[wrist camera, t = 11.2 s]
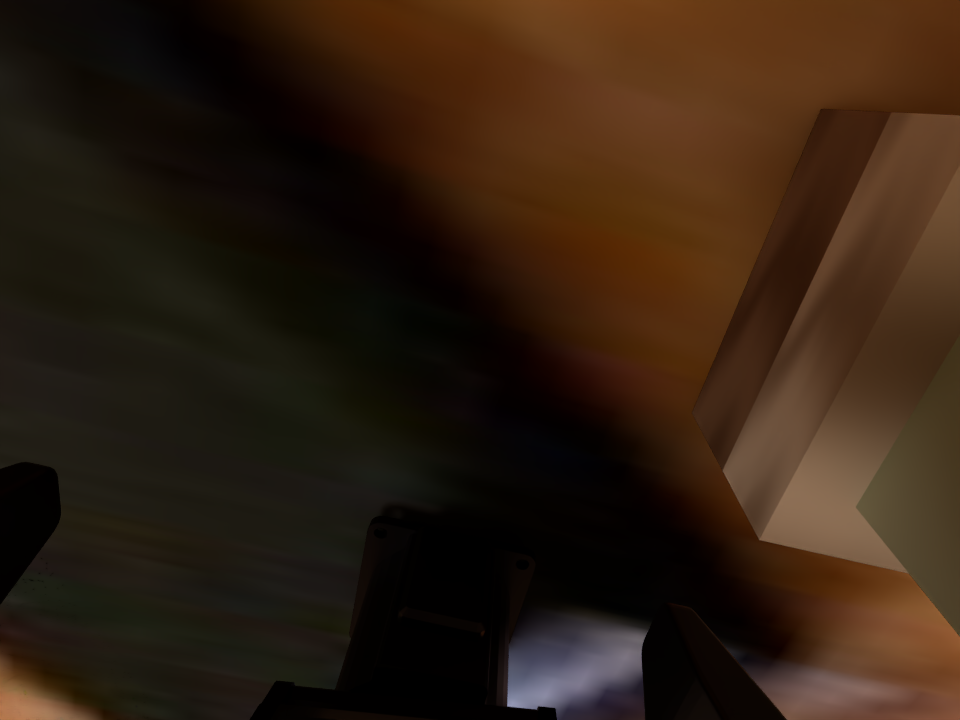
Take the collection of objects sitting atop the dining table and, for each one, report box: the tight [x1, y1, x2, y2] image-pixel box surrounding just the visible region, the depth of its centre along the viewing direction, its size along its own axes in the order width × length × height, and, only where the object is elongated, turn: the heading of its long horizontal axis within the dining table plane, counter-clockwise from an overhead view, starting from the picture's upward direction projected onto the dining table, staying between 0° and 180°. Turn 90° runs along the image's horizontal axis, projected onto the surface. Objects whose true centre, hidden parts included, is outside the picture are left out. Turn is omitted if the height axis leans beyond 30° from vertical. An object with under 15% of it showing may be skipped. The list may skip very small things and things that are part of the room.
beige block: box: [692, 109, 960, 573], centre depth 16 cm, size 10×8×6 cm
